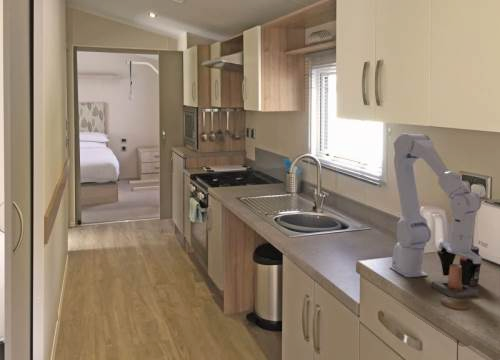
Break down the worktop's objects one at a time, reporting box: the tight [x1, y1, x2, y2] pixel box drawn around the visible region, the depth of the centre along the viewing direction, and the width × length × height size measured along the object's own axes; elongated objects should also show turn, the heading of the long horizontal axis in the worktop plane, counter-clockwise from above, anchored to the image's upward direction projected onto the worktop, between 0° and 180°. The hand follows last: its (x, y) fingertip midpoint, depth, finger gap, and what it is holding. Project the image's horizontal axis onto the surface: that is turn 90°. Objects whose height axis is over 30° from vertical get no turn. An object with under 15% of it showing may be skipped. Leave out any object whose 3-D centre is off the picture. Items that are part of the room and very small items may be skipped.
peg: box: [447, 263, 462, 290], centre depth 145 cm, size 4×4×8 cm
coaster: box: [440, 296, 469, 311], centre depth 136 cm, size 7×7×1 cm
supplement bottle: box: [458, 245, 481, 286], centre depth 153 cm, size 6×6×11 cm
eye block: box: [430, 279, 480, 299], centre depth 146 cm, size 9×9×2 cm
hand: (455, 279), depth 145 cm, fingers open, 7 cm apart
